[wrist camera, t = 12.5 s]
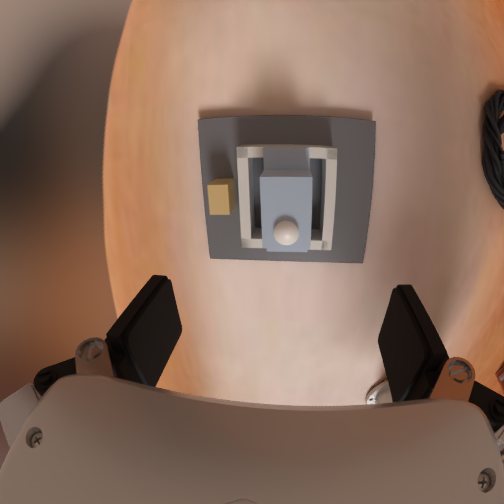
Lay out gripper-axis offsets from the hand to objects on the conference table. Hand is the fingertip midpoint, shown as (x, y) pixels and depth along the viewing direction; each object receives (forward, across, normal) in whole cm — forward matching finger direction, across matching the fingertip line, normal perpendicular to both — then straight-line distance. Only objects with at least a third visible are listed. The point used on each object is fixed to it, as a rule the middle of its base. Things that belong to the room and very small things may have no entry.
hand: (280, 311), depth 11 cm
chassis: (+20, 0, 0) cm, 20 cm away
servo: (+19, 0, 0) cm, 19 cm away
